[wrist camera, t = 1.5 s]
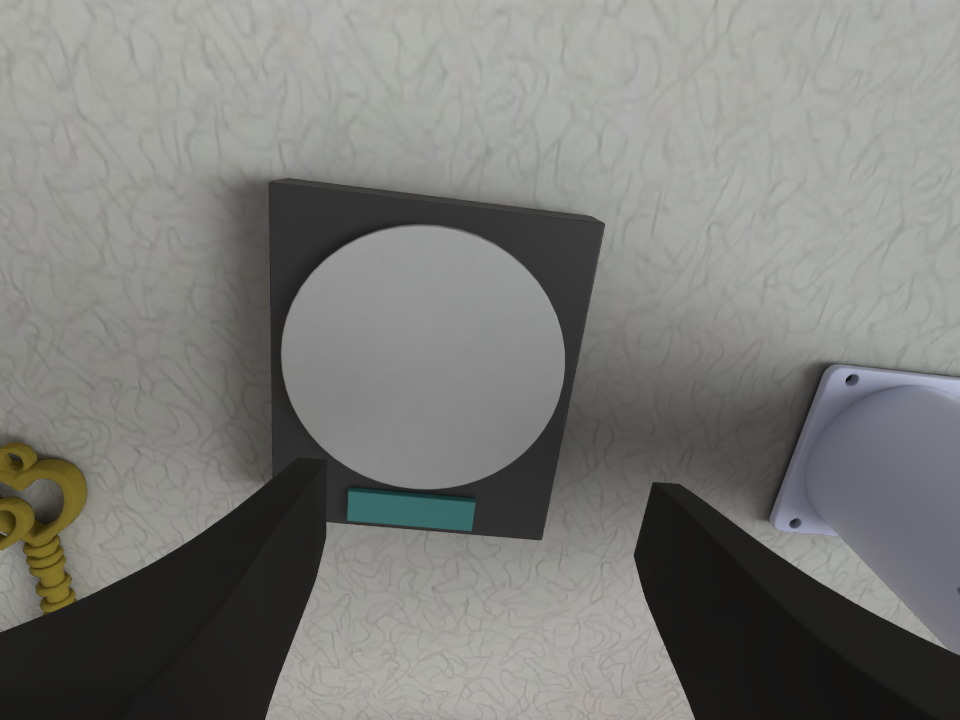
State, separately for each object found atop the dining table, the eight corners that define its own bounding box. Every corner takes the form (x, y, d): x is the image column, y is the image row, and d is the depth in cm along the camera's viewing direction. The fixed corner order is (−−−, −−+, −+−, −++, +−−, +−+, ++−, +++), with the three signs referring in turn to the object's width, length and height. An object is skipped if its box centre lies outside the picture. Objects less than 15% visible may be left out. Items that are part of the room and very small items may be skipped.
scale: (592, 216, 20) (609, 225, 18) (536, 511, 25) (543, 549, 23) (287, 177, 20) (263, 182, 17) (287, 489, 24) (268, 526, 22)
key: (117, 675, 26) (8, 675, 26) (132, 652, 27) (28, 652, 27) (56, 452, 22) (-74, 450, 22) (78, 436, 23) (-46, 435, 23)
